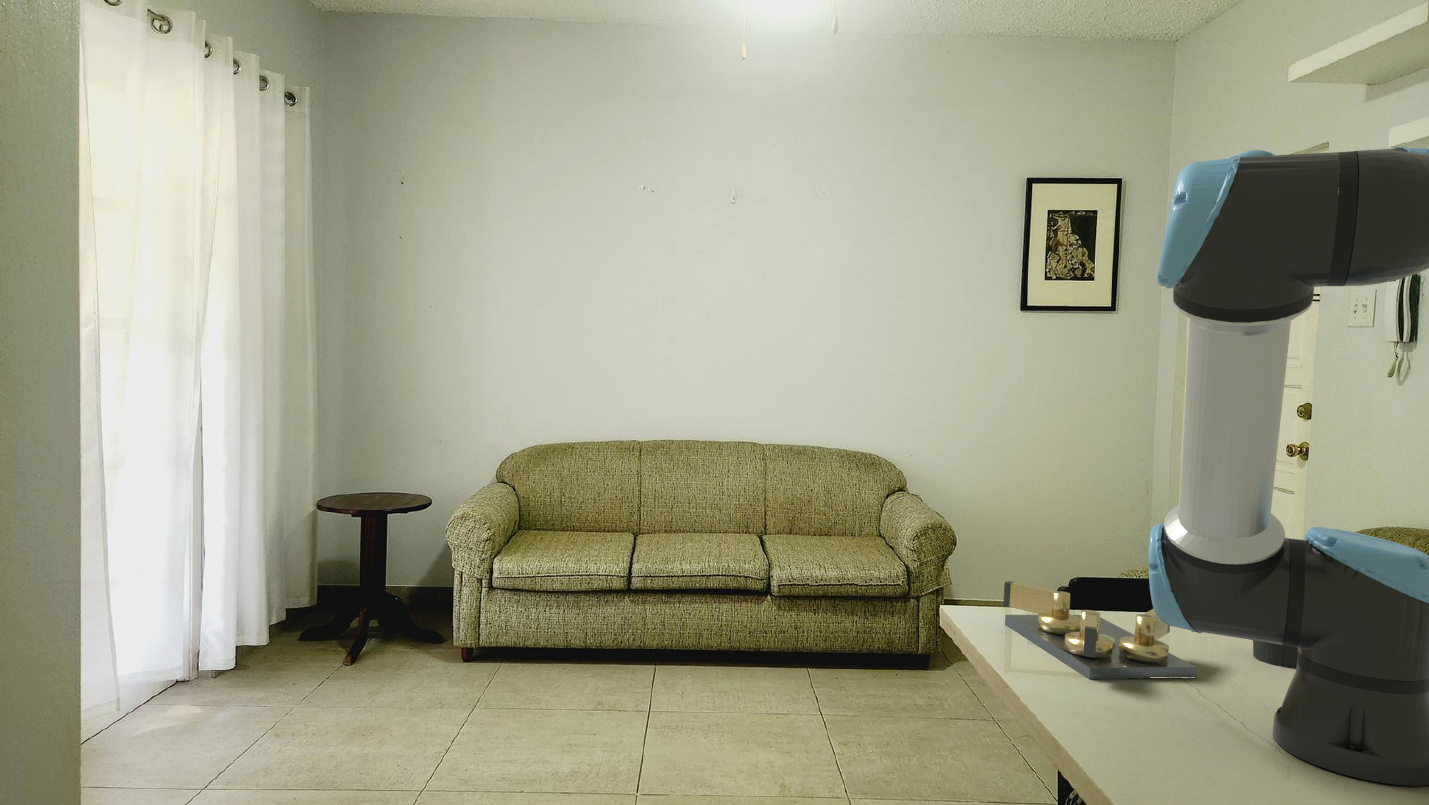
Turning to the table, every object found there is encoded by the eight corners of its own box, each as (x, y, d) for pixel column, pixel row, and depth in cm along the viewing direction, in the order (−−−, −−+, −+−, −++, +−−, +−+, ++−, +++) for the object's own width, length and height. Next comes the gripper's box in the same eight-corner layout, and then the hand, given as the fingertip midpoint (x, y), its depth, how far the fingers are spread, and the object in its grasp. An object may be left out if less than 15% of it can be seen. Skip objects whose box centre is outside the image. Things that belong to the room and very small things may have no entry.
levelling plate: (1195, 678, 120) (1197, 660, 120) (1089, 679, 118) (1090, 660, 118) (1095, 624, 144) (1096, 609, 144) (1004, 624, 142) (1005, 609, 142)
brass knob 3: (1159, 665, 119) (1162, 626, 119) (1112, 654, 123) (1114, 615, 123) (1186, 647, 128) (1188, 610, 128) (1141, 637, 132) (1143, 601, 132)
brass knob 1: (1087, 629, 135) (1090, 594, 135) (1071, 637, 130) (1073, 601, 130) (1013, 611, 143) (1015, 578, 142) (995, 618, 138) (997, 584, 138)
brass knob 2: (1064, 641, 129) (1067, 604, 128) (1111, 647, 126) (1113, 610, 126) (1063, 665, 118) (1065, 625, 118) (1114, 673, 116) (1116, 632, 115)
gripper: (1266, 276, 130) (1253, 442, 132) (1181, 271, 129) (1170, 439, 130) (1307, 272, 123) (1294, 447, 124) (1218, 266, 121) (1205, 445, 122)
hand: (1230, 443), depth 127 cm, fingers closed
